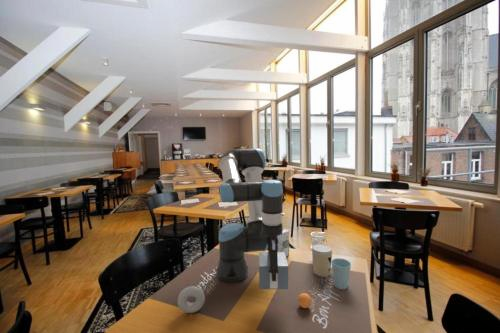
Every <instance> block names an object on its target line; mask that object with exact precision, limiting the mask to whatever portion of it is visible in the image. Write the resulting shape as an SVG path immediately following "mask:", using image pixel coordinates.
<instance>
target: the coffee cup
mask: <svg viewBox="0 0 500 333" xmlns="http://www.w3.org/2000/svg"><path fill="white" fill-rule="evenodd" d="M311 252H312V253H311V255H312V256H311V257H312V269H313V273H314V274H315V275H316V276H319V277H328V276H330V275H331V270H332V260H333V259H332V255H333V248H332V247H331V245H327V244H324V243H323V244H316V245H314V246H313V247H312V250H311Z"/></svg>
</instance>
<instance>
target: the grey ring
mask: <svg viewBox="0 0 500 333" xmlns="http://www.w3.org/2000/svg"><path fill="white" fill-rule="evenodd" d="M189 297H193V298H195V301H193V302H189V301H188V299H189ZM205 301H206V297H205V292H204V291H203V289H201V288H200V287H199V286H195V285H190V286H186V287H185V288H183V289H182V290H181V291H180V292H179V294H178V297H177V301H176V302H177V306H178V308H179V309H180V310H181V311H182V312H183V313H187V314H193V313H196V312H198V311H200V310H201V308H202V307H203V306H204V304H205Z"/></svg>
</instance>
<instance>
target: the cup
mask: <svg viewBox="0 0 500 333" xmlns="http://www.w3.org/2000/svg"><path fill="white" fill-rule="evenodd" d="M351 265H352V264H351V261H349V260H347V259H344V258H339V257H338V258H333V259H331V270H332V279H333V285H334V287H335V288H337V289H339V290H346V289H348V287H349V280H350V274H351V273H350V272H351Z"/></svg>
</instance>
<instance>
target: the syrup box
mask: <svg viewBox="0 0 500 333" xmlns="http://www.w3.org/2000/svg"><path fill="white" fill-rule="evenodd" d="M277 239H278V251H277V252H285V256H286V258H287V257H289V256H290V230H289V229H287V228H285V227H283V232H282V234H281V235H278V236H277Z"/></svg>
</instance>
